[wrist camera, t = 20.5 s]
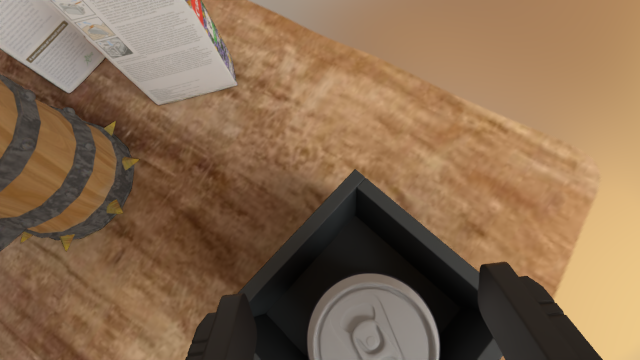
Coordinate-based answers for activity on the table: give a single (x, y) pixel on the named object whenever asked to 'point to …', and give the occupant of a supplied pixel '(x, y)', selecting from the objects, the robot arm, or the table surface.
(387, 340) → the beverage can
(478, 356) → the waste bin
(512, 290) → the robot arm
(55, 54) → the syrup box
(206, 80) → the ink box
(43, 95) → the table surface
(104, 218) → the mug
